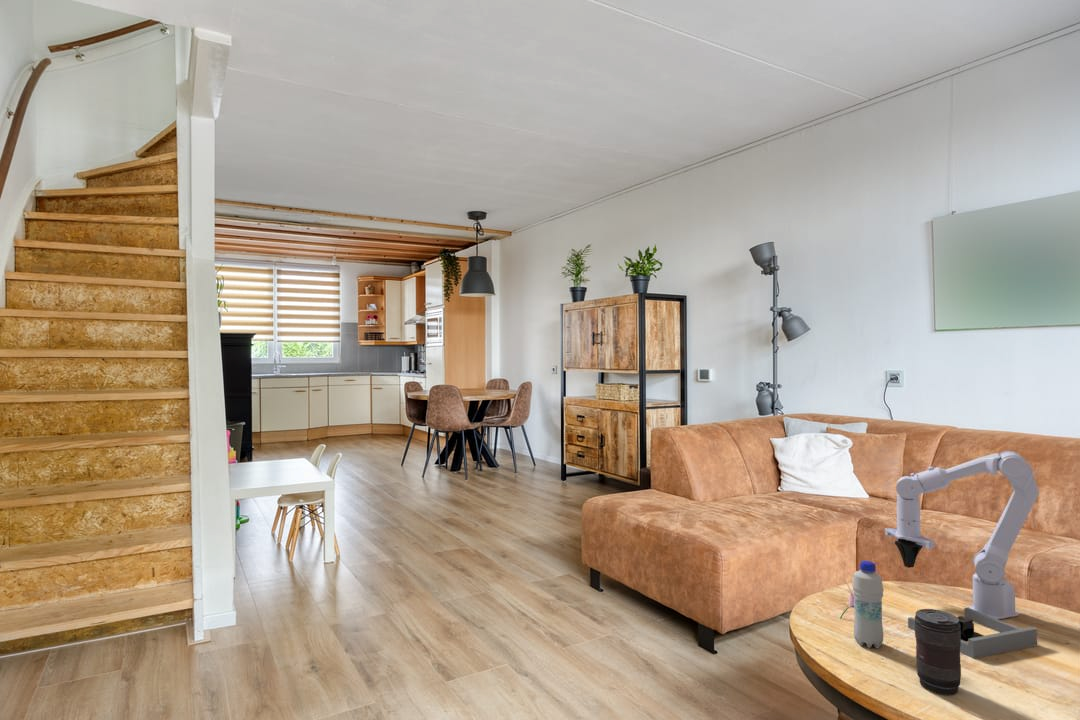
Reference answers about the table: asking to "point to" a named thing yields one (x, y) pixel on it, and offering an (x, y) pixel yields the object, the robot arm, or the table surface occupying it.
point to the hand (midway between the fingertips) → (909, 566)
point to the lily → (851, 600)
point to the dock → (993, 636)
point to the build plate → (967, 629)
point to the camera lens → (938, 651)
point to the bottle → (868, 605)
